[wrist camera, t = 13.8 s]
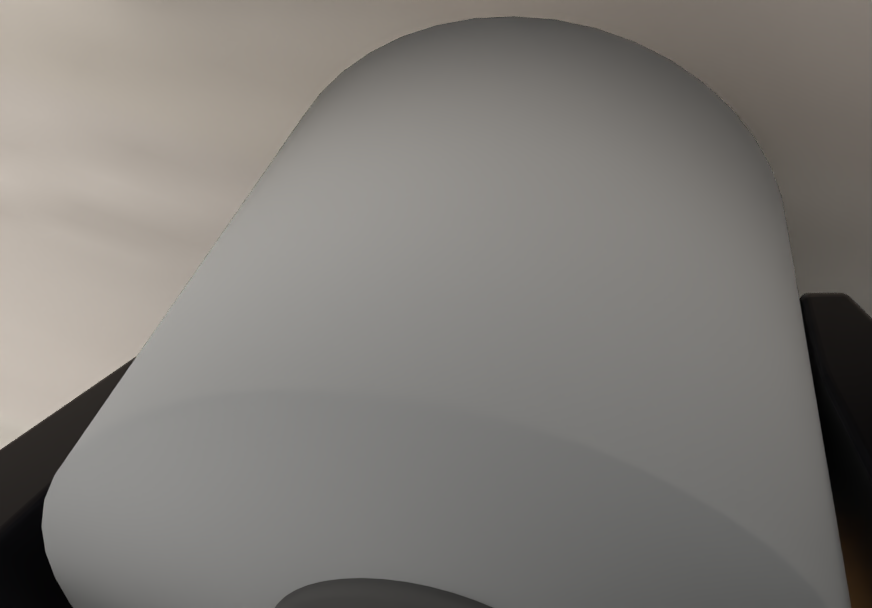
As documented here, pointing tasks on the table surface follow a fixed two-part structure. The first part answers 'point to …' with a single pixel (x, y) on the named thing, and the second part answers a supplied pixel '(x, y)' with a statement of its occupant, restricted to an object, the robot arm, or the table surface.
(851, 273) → the table surface
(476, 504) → the gray short cylinder
